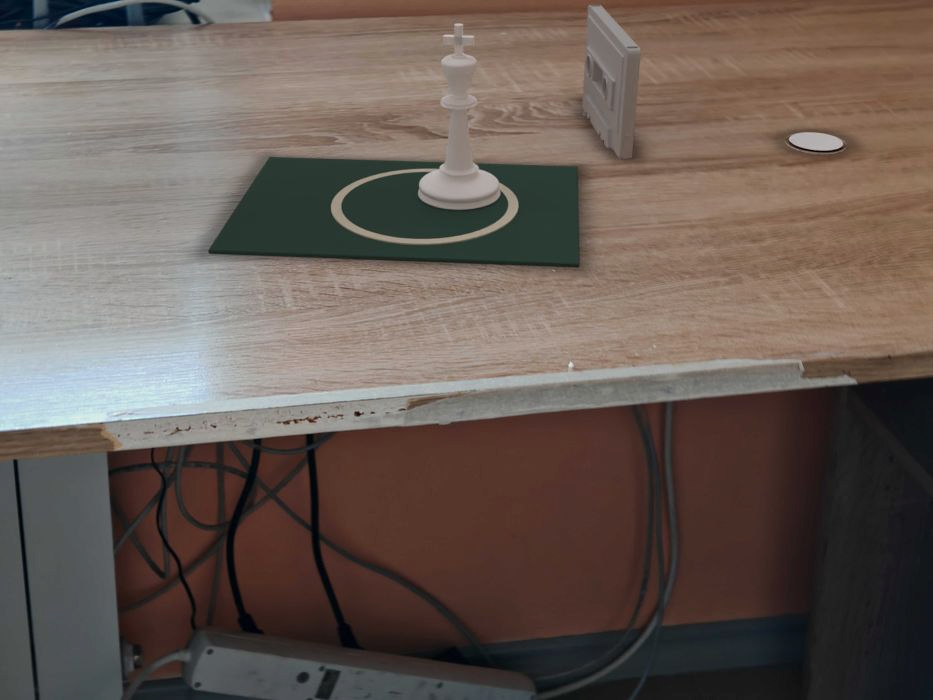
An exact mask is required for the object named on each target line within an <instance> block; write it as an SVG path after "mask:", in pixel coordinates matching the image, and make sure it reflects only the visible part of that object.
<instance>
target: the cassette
mask: <svg viewBox="0 0 933 700" xmlns="http://www.w3.org/2000/svg"><path fill="white" fill-rule="evenodd" d="M641 54H642V51H641V48H640V46H638V44H637V43H636V42H635V41H634V40H633V39H632V38H631V36H629V34H628V33H627V32H626V31H625V30H624V29H623V28H622V27H621V26H620V25H619V23H618V22H617V21H616V20H615V19H614V18H613V17H612V15H611V14H609V12H608V11H607V10H606V9H605V8H604V7H603V5H602V4H589V5H587V20H586V36H585V53H584V67H583V68H584V69H583V86H582V87H583V88H582V101H581V102H582V103H581V107H582V111H583V112H582V117H587V119H588V120H589V122H590V124H591V125H592V127H593V128H594V129H595V131H596V133H597V135H598V136H600V137H599V138H600V139H601V141H602V142H603V144H604V146H605V147H606V148H607V149H612V150H613V151H614V153H615V155H616V156H617V158H618V159H620V160H621V159H622V160H628V159H632V158H633V150H634V149H633V147H634V138H635V124H636V113H637V102H638V101H637V100H638V92H639V91H638V90H639V80H640V79H639V77H640V65H641Z"/></svg>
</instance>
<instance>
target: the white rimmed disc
mask: <svg viewBox="0 0 933 700" xmlns="http://www.w3.org/2000/svg"><path fill="white" fill-rule="evenodd" d="M787 139H788V140H789V142H790V143H791V144H792V145H794V146H796V147H797V148H796V147H794V146H792V145H790V144H788V143H787V141H786V140H787ZM784 143H785V145H786V146H787V147H789V148H790V149H792V150H794V151H798V152H801V153H805V154H810V155H824V156H825V155H835V154H841V153H843V152H844V151H846V150H847V147H848V145H847V142H846V141H845V140H844V139H842V138H840V137H838V136H836V135H833V134H829V133H822V132H813V131H800V132H795V133H791V134H789V135H787V136H786V137H785V138H784ZM844 145H845V148H844V149H843V148H842V147H843V146H844ZM798 147H799V148H802V149H799V148H798ZM840 148H842V149H841V150H838V149H840ZM803 149H807V150H803ZM808 150H813V151H808ZM833 150H834V151H833ZM835 150H838V151H835ZM816 151H821V152H816ZM822 151H832V152H822Z"/></svg>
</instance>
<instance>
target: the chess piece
mask: <svg viewBox="0 0 933 700" xmlns="http://www.w3.org/2000/svg"><path fill="white" fill-rule="evenodd" d="M453 29H454V30H453V34H443V36H442V45H448V46H450V45H451V46H453V49H454V53H451V54H448V55H446V56H444V57H443V58H442V59H441V61H440V65H441V69H442V71H443V74H444V77H445V79H446V85H447V87H448V89H449V93H448V94H447V95H444V96H443V97H441V99H440V103H439V105H440V106H441V107H442V108H444V109H446V110H450V115H449V127H448V136H447V145H446V153H445V159H444V162H445V163H444V164H442V165H441V166H440V168H439V170H435V171H432V172H430V173H428V174H426V175H425V176H424V177H423V178H422V179H421V180H420V182H419V190H418V196H419V198H420V199H421V200H422V201H423V202H425V203H426V204H428V205H431V206H434V207H437V208H442V209H449V210H469V209H476V208H481V207H485V206H487V205H490V204H492V203H494V202H495V201H496V200H497V199H498V198H499V197H500V190H499V181H498V180H497V178H496V177H495V176H493V175H492V174H490V173H488V172H486V171H483V170H480V169H479V167H478V165H476V164H475V163H476V162H474V158H473V151H472V144H471V143H472V142H471V136H470V127H469V116H468V115H469V114H468V110H472V109H474V108H476V107H477V106H478V105H479V103H478V101H477V97H475V96H474V95H472V94H470V93H469V89H470V88H471V87H470V86H471V84H472V80H473V77H474V73H475V72H476V68H477V65H478V64H477V63H478V60H477V59H476V58H475V57H474V56H472V55H469V54H466V53H464V46H471V47H473V46H474V45H475V35H470V34H469V35H467V34H466V35H465V34H464V23H454V25H453Z"/></svg>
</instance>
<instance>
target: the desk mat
mask: <svg viewBox="0 0 933 700" xmlns="http://www.w3.org/2000/svg"><path fill="white" fill-rule="evenodd" d="M444 163H445V161H444V162H443V161H418V160H417V161H416V160H412V161H411V160H385V159H383V160H380V159H351V158H348V159H347V158H323V157H322V158H318V157H315V158H314V157H289V156H288V157H285V156H269V157H268V158H267V160H266V162H265V163H264V164H263V166H262V167H261V169H260V170H259V172H258V174H257V175H256V177H255V179H254V180H253V181H252V183H251V184H250V186H249V188H248V189H247V190H246V192H245V193H244V195H243V197H242V198H241V200H240V201H239V202H238V204H237V206H235V209H234V210H233V212H232V213H231V215H230V217H229V218H228V219H227V220H226V222H225V224H224V226H223V227H222V228H221V230H220V232H219V233H218V234H217V236H216V238H215V239H214V240H213V243H212V244H211V245H210V247H209V248H208V251H207V252H208V254H210V255H234V256H236V255H237V256H261V257H262V256H264V257H289V258H290V257H291V258H316V259H318V258H319V259H320V258H321V259H340V260H341V259H344V260H366V261H367V260H368V261H369V260H370V261H371V260H372V261H396V262H397V261H398V262H422V263H423V262H424V263H448V264H473V265H474V264H475V265H476V264H478V265H501V266H502V265H503V266H504V265H505V266H530V267H531V266H532V267H554V268H555V267H556V268H557V267H558V268H580V221H579V219H580V217H579V216H580V215H579V213H580V211H579V168H578V166H575V165H548V164H547V165H544V164H543V165H542V164H513V163H511V164H509V163H481V162H480V163H479V162H477V163H476V162H474V163H475V164H476V165H478V167H479V169H480V170H483V171H486V172H488V173H490V174H492V175H493V176H495V177H496V178H497V180H498V181H499V190H500V197H499V198H498V199H497V200H496V201H495V202H494V203H492V204H490V205H487V206H485V207H481V208H476V209H469V210H449V209H442V208H437V207H434V206H431V205H428V204H426V203H425V202H423V201H422V200H421V199H420V198H419V196H418V190H419V182H420V180H421V179H422V178H423V177H424V176H425V175H426V174H428V173H430V172H432V171H435V170H439V168H440V166H441V165H442V164H444Z"/></svg>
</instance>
